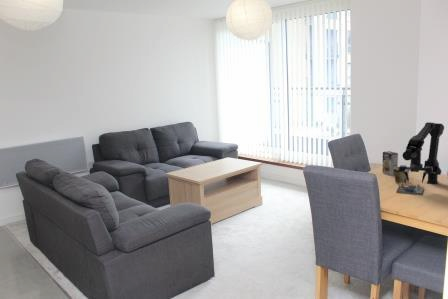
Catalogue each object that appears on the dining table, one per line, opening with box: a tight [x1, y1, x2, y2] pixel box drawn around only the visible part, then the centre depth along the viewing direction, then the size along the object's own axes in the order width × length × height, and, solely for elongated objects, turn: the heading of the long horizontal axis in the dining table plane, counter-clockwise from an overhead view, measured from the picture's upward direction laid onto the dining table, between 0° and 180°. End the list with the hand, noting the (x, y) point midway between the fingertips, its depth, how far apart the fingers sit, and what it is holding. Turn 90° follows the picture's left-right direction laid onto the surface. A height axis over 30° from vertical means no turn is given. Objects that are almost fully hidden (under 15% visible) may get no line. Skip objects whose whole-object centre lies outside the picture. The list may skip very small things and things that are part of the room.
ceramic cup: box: [393, 166, 410, 185], centre depth 263 cm, size 13×10×10 cm
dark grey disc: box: [403, 178, 417, 189], centre depth 245 cm, size 9×7×5 cm
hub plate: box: [395, 183, 424, 196], centre depth 244 cm, size 14×14×3 cm
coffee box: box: [382, 150, 399, 176], centre depth 287 cm, size 9×6×16 cm
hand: (415, 182), depth 245 cm, fingers open, 8 cm apart
